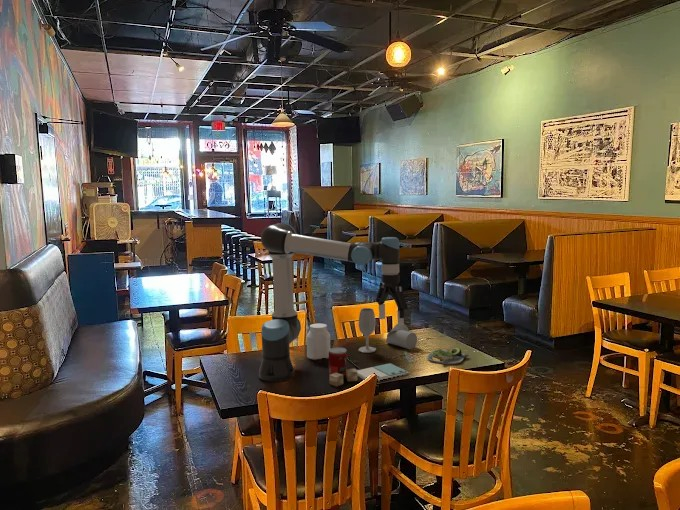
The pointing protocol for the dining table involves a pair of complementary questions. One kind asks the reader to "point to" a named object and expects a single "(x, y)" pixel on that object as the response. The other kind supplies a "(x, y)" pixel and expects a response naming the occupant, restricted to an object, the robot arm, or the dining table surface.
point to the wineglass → (367, 327)
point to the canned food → (338, 360)
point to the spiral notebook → (382, 372)
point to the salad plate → (447, 356)
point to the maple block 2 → (351, 375)
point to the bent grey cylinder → (402, 337)
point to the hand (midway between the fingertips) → (391, 322)
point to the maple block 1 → (336, 379)
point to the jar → (318, 341)
